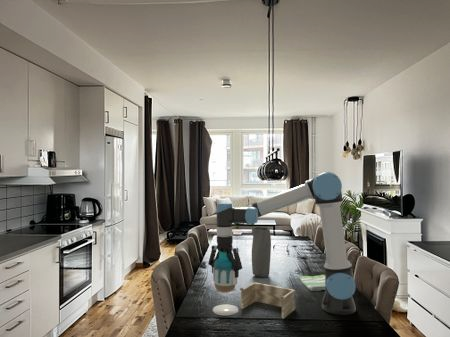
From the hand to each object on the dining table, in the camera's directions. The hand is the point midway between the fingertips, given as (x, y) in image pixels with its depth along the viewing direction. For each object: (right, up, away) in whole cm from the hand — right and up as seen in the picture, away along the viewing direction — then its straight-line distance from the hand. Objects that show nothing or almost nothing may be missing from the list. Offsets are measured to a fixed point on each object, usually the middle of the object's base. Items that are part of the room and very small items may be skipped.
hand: (225, 282), depth 163 cm
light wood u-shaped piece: (+20, -13, +1) cm, 24 cm away
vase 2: (+23, -14, +54) cm, 61 cm away
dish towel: (+54, -14, +37) cm, 67 cm away
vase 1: (0, -5, 0) cm, 5 cm away
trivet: (0, -13, 0) cm, 13 cm away
